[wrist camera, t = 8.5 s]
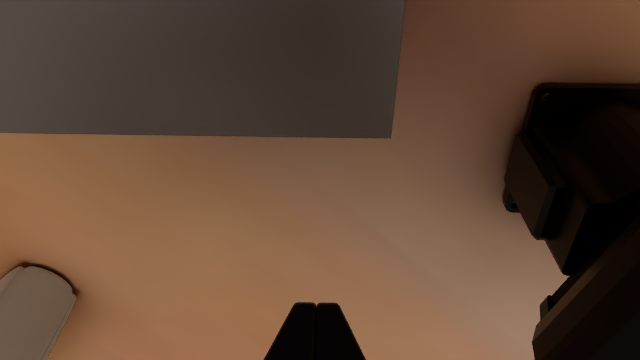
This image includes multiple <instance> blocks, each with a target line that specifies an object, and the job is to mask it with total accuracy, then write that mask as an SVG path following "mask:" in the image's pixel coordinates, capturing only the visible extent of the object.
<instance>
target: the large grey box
mask: <svg viewBox="0 0 640 360" xmlns="http://www.w3.org/2000/svg"><path fill="white" fill-rule="evenodd" d="M405 1H406V0H0V133H43V134H114V135H185V136H256V137H327V138H391V134H392V124H393V115H394V105H395V96H396V86H397V77H398V68H399V58H400V49H401V39H402V30H403V20H404V11H405Z"/></svg>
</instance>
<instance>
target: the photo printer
mask: <svg viewBox="0 0 640 360" xmlns="http://www.w3.org/2000/svg"><path fill="white" fill-rule="evenodd" d="M75 301H76V295H74V294H73V293H72V288H71V286H70V285H69V284H68V283H67V282H66V281H65V280H64V279H63V278H61V277H60V276H58V275H56V274H55V273H53V272H51V271H48V270H46V269H43V268H39V267H34V266H29V267H27V268H24V267H21V266H19V267H17V268H15V269H13V270H12V271H10V272H9V273H8V274H6V275H5V276H4V277H3V278H2V279H1V280H0V360H46V359H47V357H48V356H49V354H50V352H51V350H52V348H53V346H54V344H55V342H56V340H57V338H58V336H59V334H60V332H61V331H62V329H63V327H64V325H65V323H66V321H67V319H68V317H69V315H70V313H71V311H72V309H73V306H74V304H75Z"/></svg>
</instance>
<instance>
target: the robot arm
mask: <svg viewBox="0 0 640 360" xmlns="http://www.w3.org/2000/svg"><path fill="white" fill-rule="evenodd" d="M546 93H550V96H549V97H548V98H547V99H545V100H541V98H542V96H543V95H544V94H546ZM504 181H505V183H506V185H507V186H506V189H505V193H504V196H503V204H504V206H505V208H506V210H507V211H509V212H513V213H521V215H522V217H523V219H524V221H525V223H526V225H527V227H528V229H529V231H530V233H531V235H532V236H533V237H534V238H535V239H536V240H545V242H546V244H547V246H548V247H549V249H550V251H551V253H552V255H553V257H554V259H555V261H556V263H557V264H558V266H559V268H560V270H561V272H562V273H563V274H564V275H567V276H569V277H568V279H567V280H566V281H565V282H564V283H563V284H562V285H561V286H560V287H559V289H558V290H557V291H556V292H555V293H554V294H553V295H552V296H551V295H549V296H547V298H546V299H545V300H544V301H543V302H542V303H541V304H540V322H539V323H538V324H537V325H536V329H535V332H534V336H533V340H532V345H533V351H534V357H535V360H640V84H567V83H545V84H541V85H539V86H538V87H537V88H536V89H535V90H534V91H533V93H532V96H531V99H530V103H529V106H528V110H527V114H526V117H525V121H524V124H523V128H522V130H520V131H519V132H518V133H517V134H516V136H515V140H514V144H513V147H512V151H511V155H510V159H509V162H508V166H507V170H506V173H505V177H504ZM513 201H515V203H511V202H513ZM264 360H366V359H365V357H364V355H363V353H362V351H361V349H360V347H359V345H358V343H357V341H356V339H355V337H354V335H353V333H352V330H351V328H350V326H349V324H348V322H347V320H346V318H345V316H344V314H343V312H342V310H341V308H340V306H339V305H338V304H337V303H318V304H317V308H316V305H315V303H312V302H297V303H295V304H294V305H293V307H292V309H291V310H290V312H289V314H288V316H287V318H286V320H285V321H284V323H283V325H282V327H281V329H280V331H279V332H278V334H277V336H276V338H275V340H274V342H273V343H272V345H271V347H270V349H269V351H268V353H267V355H266V356H265V358H264Z"/></svg>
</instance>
